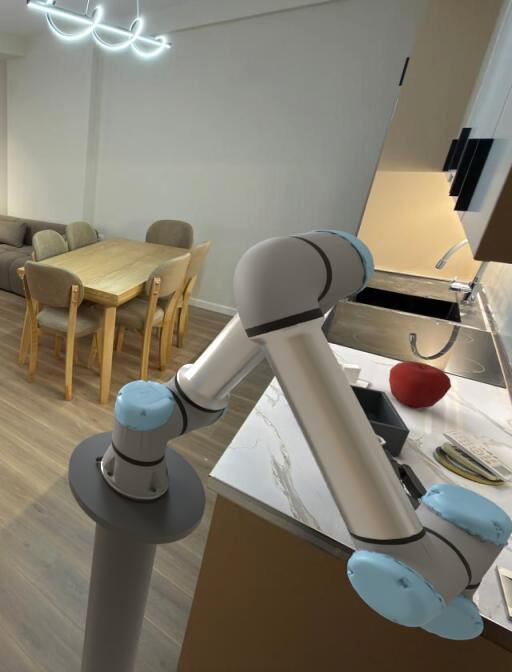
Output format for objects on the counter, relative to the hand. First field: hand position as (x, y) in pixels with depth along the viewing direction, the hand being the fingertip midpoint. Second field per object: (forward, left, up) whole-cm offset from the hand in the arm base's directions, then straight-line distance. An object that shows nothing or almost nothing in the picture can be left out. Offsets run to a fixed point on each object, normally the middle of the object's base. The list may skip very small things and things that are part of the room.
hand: (360, 437), depth 83 cm
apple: (+24, +45, -13) cm, 52 cm away
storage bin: (+5, +25, -13) cm, 28 cm away
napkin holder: (+8, +50, -13) cm, 52 cm away
